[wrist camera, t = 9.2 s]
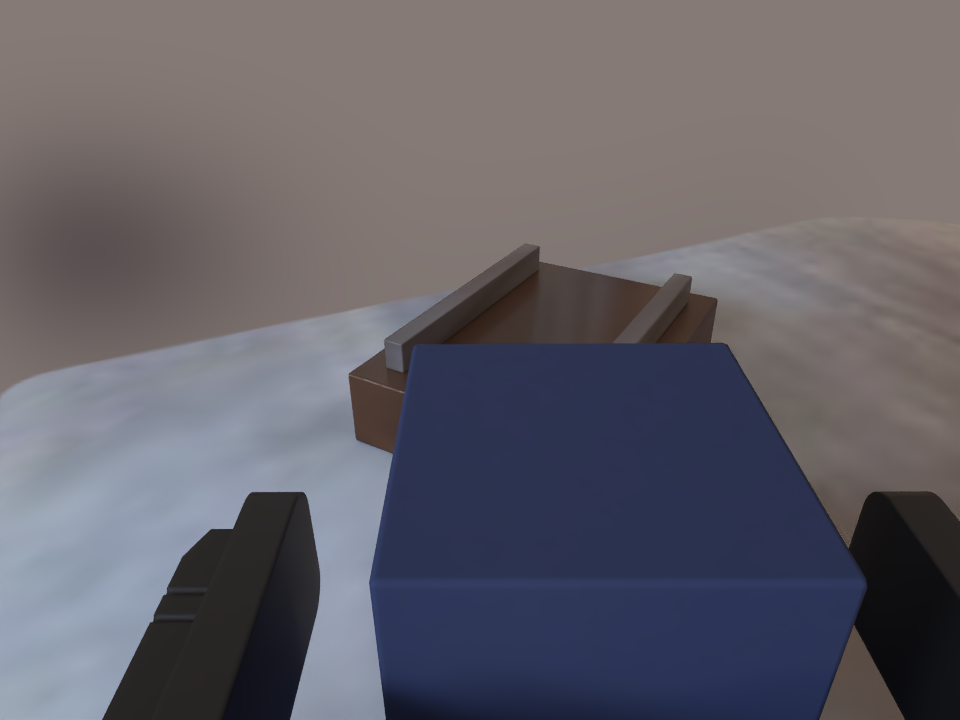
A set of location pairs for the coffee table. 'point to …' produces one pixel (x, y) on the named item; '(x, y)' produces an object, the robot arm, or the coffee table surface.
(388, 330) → the coffee table surface
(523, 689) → the blue rectangular block
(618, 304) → the wooden base with rails
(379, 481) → the coffee table surface
